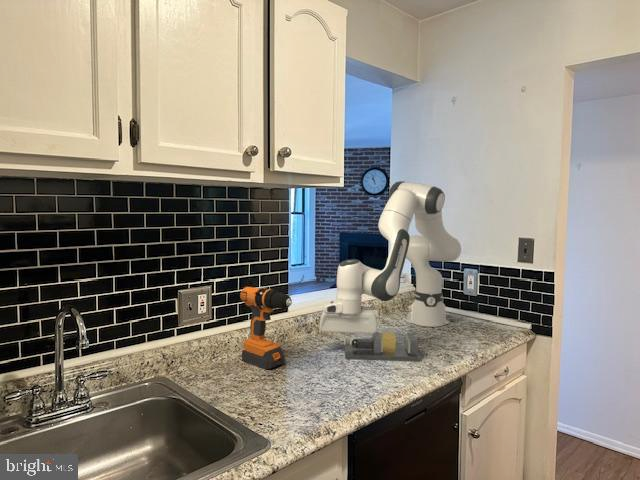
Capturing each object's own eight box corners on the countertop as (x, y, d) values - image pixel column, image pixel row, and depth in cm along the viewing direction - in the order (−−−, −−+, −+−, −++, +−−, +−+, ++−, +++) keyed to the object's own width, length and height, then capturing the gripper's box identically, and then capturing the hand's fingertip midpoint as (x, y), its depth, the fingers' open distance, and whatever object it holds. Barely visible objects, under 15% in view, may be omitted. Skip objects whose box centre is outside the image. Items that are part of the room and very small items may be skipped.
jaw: (351, 344, 160) (351, 331, 160) (380, 345, 159) (380, 332, 159) (351, 353, 151) (352, 338, 151) (382, 354, 150) (383, 339, 150)
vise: (344, 347, 162) (345, 330, 161) (413, 349, 160) (414, 332, 160) (344, 358, 150) (345, 340, 149) (419, 361, 148) (420, 342, 148)
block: (380, 348, 157) (381, 331, 157) (393, 348, 157) (394, 331, 156) (382, 352, 153) (382, 335, 152) (395, 352, 153) (395, 335, 152)
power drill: (300, 370, 139) (301, 291, 137) (283, 376, 133) (284, 295, 131) (253, 354, 153) (254, 282, 151) (237, 359, 147) (237, 285, 145)
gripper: (377, 304, 157) (376, 342, 158) (320, 303, 158) (319, 340, 159) (379, 309, 151) (378, 348, 152) (319, 307, 152) (318, 346, 153)
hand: (347, 344), depth 156 cm, fingers closed
